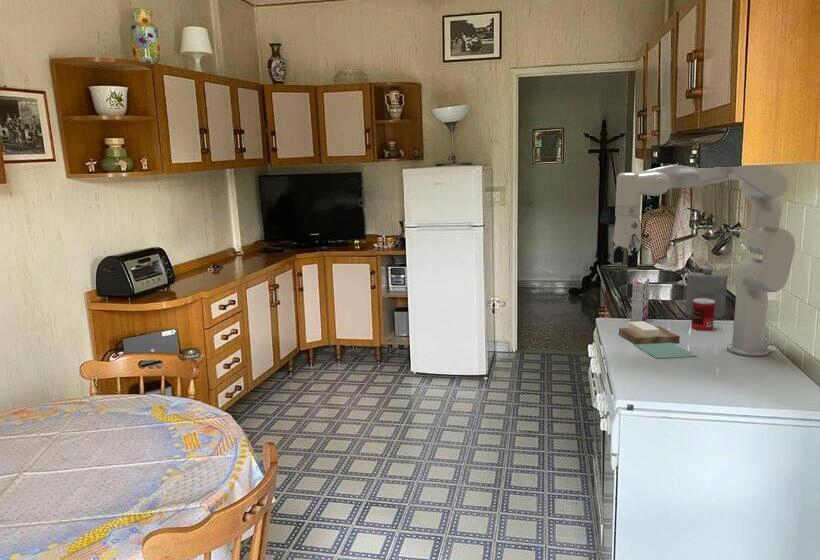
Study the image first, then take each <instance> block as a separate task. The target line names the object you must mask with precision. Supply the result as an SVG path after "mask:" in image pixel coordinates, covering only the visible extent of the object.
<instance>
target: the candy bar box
mask: <svg viewBox="0 0 820 560" xmlns="http://www.w3.org/2000/svg"><path fill="white" fill-rule="evenodd" d="M631 286H632V287H631V288H632V290H631V312H630V313H631V314H630V315H631V316H630V322H636V321H644V322H646V320H647V319H648V318H649V302H650V301H649V298H650V278H647V277H636V279H635V280H633V281H632V285H631Z"/></svg>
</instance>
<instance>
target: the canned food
mask: <svg viewBox="0 0 820 560" xmlns="http://www.w3.org/2000/svg"><path fill="white" fill-rule="evenodd" d="M714 312H715V301H714V300H711V299H704V298H698V299H694V300H693V310H692V316H691V328H692V329H693V330H695V329H696V331H700V330H710V331H712V330H713V328H714V323H715V318H714Z"/></svg>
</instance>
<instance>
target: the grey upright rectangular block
mask: <svg viewBox="0 0 820 560" xmlns="http://www.w3.org/2000/svg"><path fill="white" fill-rule="evenodd" d="M713 271H714V270H713V268H711V267H705V268H703V269H702V272H689V273H687V278H686V279H687V280H686V291H685V309H684V315H685V316H687V317H692V310H693V300H694V299H698V298H704V299H711V300H714V301H715V312H714V319H723V318H725V315H726V314H725V313H726V300H727V288H728V287H727V286H728V275H727V274H726V273H725V274H724V273H713ZM722 317H723V318H722Z"/></svg>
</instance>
